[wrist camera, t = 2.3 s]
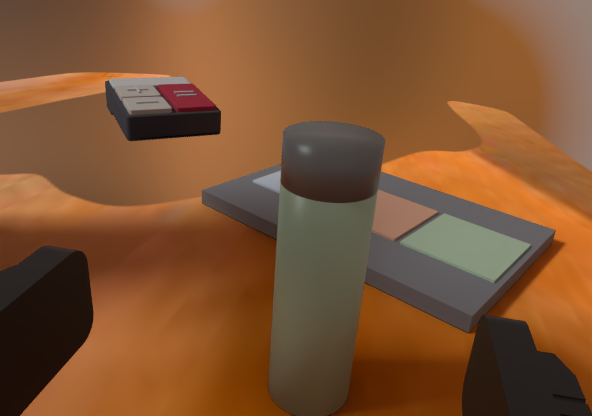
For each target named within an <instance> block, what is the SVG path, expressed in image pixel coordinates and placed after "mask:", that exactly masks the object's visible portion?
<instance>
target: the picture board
mask: <svg viewBox="0 0 592 416" xmlns="http://www.w3.org/2000/svg"><path fill="white" fill-rule="evenodd" d="M280 178H281V164H280V165H277V166H274V167H271V168H268V169H265V170H262V171H259V172H256V173H252V174H250V175H246V176H243V177H240V178H237V179H235V180H231V181H228V182H225V183H222V184H219V185H217V186H214V187H210V188H207V189H204V190H202V203H203V204H205V205H207V206H209V207H211V208H213V209H215V210H217V211H219V212H221V213H223V214H225V215H227V216H230V217H232V218H234V219H236V220H238V221H240V222H242V223H244V224H246V225H248V226H250V227H252V228H254V229H256V230H258V231H260V232H262V233H264V234H266V235H268V236H271V237H273V238H275V239H277V228H278V212H279V195H280ZM555 232H556V230H553V229H550V228H547V227H544V226H541V225H538V224H535V223H532V222H529V221H526V220H523V219H521V218H518V217H515V216H512V215H509V214H506V213H503V212H500V211H497V210H494V209H491V208H488V207H485V206H482V205H479V204H476V203H473V202H470V201H467V200H464V199H461V198H458V197H455V196H452V195H449V194H446V193H443V192H440V191H437V190H434V189H431V188H428V187H425V186H422V185H419V184H416V183H413V182H410V181H407V180H404V179H401V178H398V177H395V176H392V175H389V174H386V173H383V172H381V173H380V180H379V186H378V193H377V200H376V207H375V214H374V221H373V227H372V234H371V241H370V248H369V255H368V261H367V268H366V275H365V283H367V284H369V285H371V286H373V287H375V288H377V289H379V290H381V291H383V292H385V293H387V294H389V295H391V296H393V297H396V298H398V299H400V300H402V301H404V302H406V303H408V304H410V305H412V306H414V307H416V308H418V309H420V310H422V311H424V312H426V313H428V314H430V315H432V316H434V317H437V318H439V319H441V320H443V321H445V322H447V323H449V324H451V325H453V326H455V327H457V328H459V329H461V330H463V331H465V332H467V333H469V332H470V330H471V329H472V328H473V327H474V326H475V325H476V324H477V323H478V322H479V320H480V318H481V316H482V315H485V314H486V313H487V312H488V311H489V310H490V309H491V308H492V307H493V306H494V305H495V304H496V303H497V302H498V300H499V299H500V298H501V297H502V296H503V295H504V294H505V293H506V292H507V291H508V290H509V289H510V288H511V287H512V286H513V284H514V283H515V282H516V281H517V280H518V279H519V278H520V277H521V276H522V275H523V274H524V273H525V272H526V271H527V269H528V268H529V267H530V266H531V265H532V264H533V263H534V262H535V261H536V260H537V259H538V258H539V257H540V256H541V254H542V253H543V252H544V251H545V250H546V249H547V248H548V247H549V246H550V245H551V244H552V241H553V238H554V235H555Z"/></svg>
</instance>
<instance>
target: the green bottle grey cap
mask: <svg viewBox="0 0 592 416" xmlns="http://www.w3.org/2000/svg"><path fill="white" fill-rule="evenodd" d="M384 145H385V139H384V138H383V136H382V135H380V134H379V133H377V132H375V131H373V130H370V129H368V128H365V127H361V126H357V125H353V124H347V123H340V122H329V121H313V122H312V121H311V122H302V123H297V124H293V125H291V126H288V127H287V128H285V130H284V131H283V146H282V163H281V178H280V195H279V212H278V228H277V245H276V261H275V278H274V295H273V311H272V328H271V345H270V361H269V378H268V391H269V394H270V396H271V398H272V400H273V401H274V402H275V403H276V405H277V406H279V407H280V408H281V409H283V410H284V411H286V412H288V413H290V414H292V415H295V416H328V415H330V414H333V413H334V412H336V411H338V410H339V409H340V408H341V407H342V406H343V405H344V403H345V402H346V399H347V396H348V391H349V384H350V377H351V370H352V364H353V357H354V350H355V343H356V336H357V330H358V323H359V316H360V309H361V302H362V295H363V289H364V282H365V275H366V268H367V261H368V255H369V248H370V241H371V234H372V227H373V221H374V214H375V207H376V200H377V193H378V186H379V180H380V173H381V166H382V159H383V151H384Z"/></svg>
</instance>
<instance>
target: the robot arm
mask: <svg viewBox="0 0 592 416" xmlns="http://www.w3.org/2000/svg"><path fill="white" fill-rule="evenodd" d="M92 323H93V305H92V297H91V288H90V280H89V271H88V263H87V259H86V256H85V254H84V253H83V252H81V251H78V250H71V249H65V248H58V247H52V246H43V247H41V248H40V249H38V250H37V251H35V252H34V253H33V254H31V255H30V256H29V257H27V258H26V259H25V260H23V261H22V262H20V263H19V264H18V265H15V266H13V267H10V268H8V269H5V270H3V271H1V272H0V416H20V415H21V414H22V413H23V411H24V410H25V409H26V408H27V407H28V406H29V405H30V404H31V402H32V401H33V400H34V399H35V398H36V397H37V396H38V394H39V393H40V392H41V391H42V390H43V389H44V388H45V387H46V385H47V384H48V383H49V382H50V381H51V380H52V379H53V378H54V376H55V375H56V374H57V373H58V372H59V371H60V370H61V368H62V367H63V366H64V365H65V364H66V363H67V362H68V361H69V359H70V358H71V357H72V356H73V355H74V354H75V353H76V351H77V350H78V349H79V348H80V347H81V346H82V345H83V343H84V342H85V341H86V339H87V337H88V335H89V333H90V331H91V327H92ZM585 400H586V399H585V397H584V395H583V392H582V390H581V388H580V385H579V383H578V381H577V378H576V376H575V375H574V374H573V373H572V372H571V371H570V370H569V369H568V368H567V367H566V366H565V364H564V363H563V362H562V361H561V360H560V359H559V358H558V357H557V356H556V355H555V354H552V353H546V352H540V351H537V350H536V347H535V344H534V341H533V338H532V336H531V333H530V330H529V327H528V325H527V323H526V322H525V321H521V320H514V319H508V318H501V317H495V316H488V315H482V316H481V318H480V320H479V323H478V327H477V331H476V335H475V339H474V343H473V347H472V351H471V355H470V359H469V363H468V367H467V371H466V375H465V379H464V385H463V394H462V414H463V416H592V413H591V411H590V408H589V406H588V404H585Z"/></svg>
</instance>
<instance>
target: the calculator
mask: <svg viewBox="0 0 592 416" xmlns="http://www.w3.org/2000/svg"><path fill="white" fill-rule="evenodd" d="M105 87H106V99H107V108H108V109H109V111H110V113H111V115H114V117H115V118H116V120H117V122H118V124H119V126H120V128H121V129H122V131H123V133H124V135H125V137H126V139H127V140H128V141H142V140H155V139H167V138H181V137H193V136H207V135H218V134H220V126H221V125H220V124H221V111H220V110H219V109H218V108H217V107H216V105H215V104H214V103H213V102H212V101H210V99H208V98H207V97H206V96H205V95H204V94H203V93H202V92H201V91H200V90H199V89H198V88H197V87H196V86H194V85H193V84H191V83H190V82H189V81H188V80H187V79H186V78H184V77H161V78H124V79H109V81H106V82H105Z"/></svg>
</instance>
